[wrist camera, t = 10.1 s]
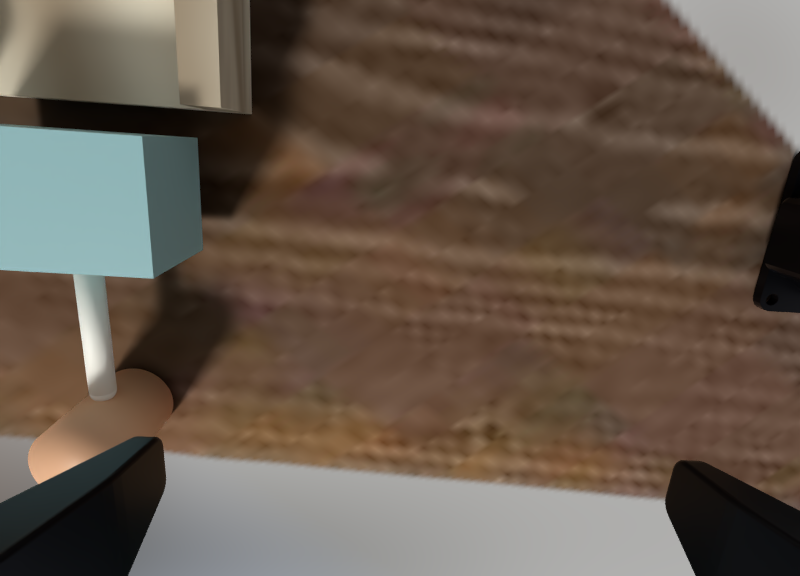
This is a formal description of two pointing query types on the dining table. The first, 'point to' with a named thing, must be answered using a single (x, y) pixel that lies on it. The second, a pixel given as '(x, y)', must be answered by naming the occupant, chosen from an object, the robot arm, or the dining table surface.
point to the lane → (129, 52)
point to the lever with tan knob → (98, 258)
